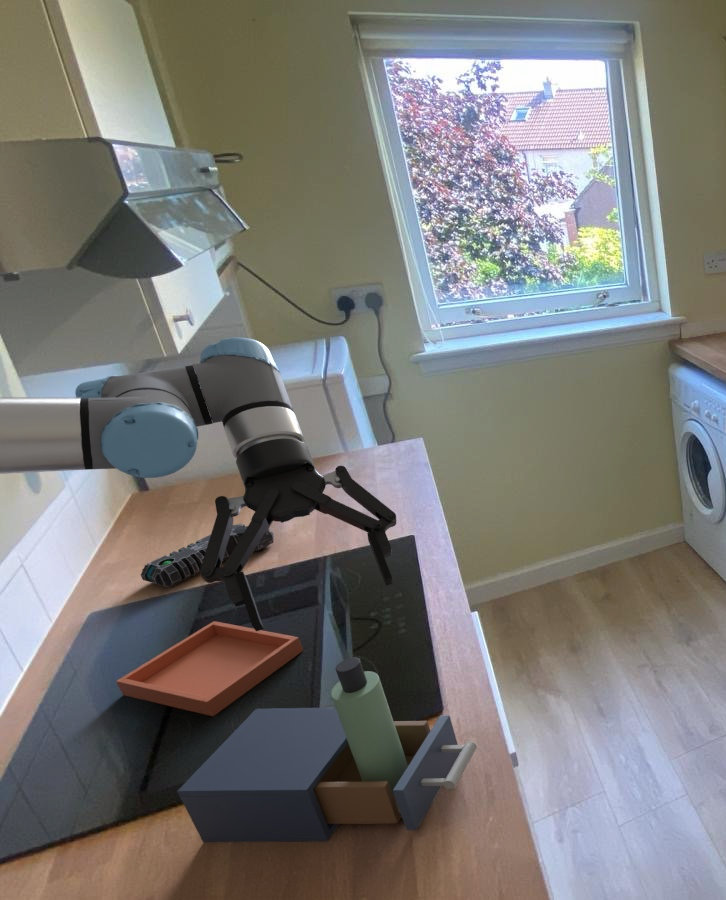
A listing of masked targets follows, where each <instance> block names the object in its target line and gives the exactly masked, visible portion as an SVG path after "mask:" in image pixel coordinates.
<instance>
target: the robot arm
mask: <svg viewBox="0 0 726 900" xmlns="http://www.w3.org/2000/svg"><path fill="white" fill-rule="evenodd" d="M199 360H200V361H199V363H194V364H193V363H192V365H185V366H179V367H173V368H164V369H158V370H151V371H143V372H137V373H130V374H122V375H116V374H113V375H108V376H107V377H105V378H100V379H94V380H89V381H83V382H81V383H80V384H78V385H77V386H76V388H75V391H74V392H75V393H74V394H75V396H68V397H65V396H64V397H63V396H61V397H59V396H58V397H57V396H50V397H49V396H47V397H46V396H41V397H40V396H38V397H37V396H33V397H32V396H30V397H29V396H28V397H27V396H24V397H23V396H20V397H17V396H9V397H8V396H5V397H3V396H0V475H5V474H7V475H8V474H24V473H26V474H27V473H29V474H30V473H45V472H46V473H47V472H48V473H49V472H65V471H66V472H67V471H68V472H69V471H87V470H115V469H116V470H118V471H120V472H122V473H124V474H126V475H129V476H133V477H137V478H143V479H154V478H162V477H166V476H170V475H172V474H175V473H176V472H179V471H180V470H181V469H183V468H185V467H186V466H187V465H188V464H189V463H190V462H191V461H192V460H193V458H194V456H195V454H196V451H197V446H198V440H199V427H203V426H209V425H213V424H216V423H221V424H222V426H223V430H224V433H225V435H226V439H227V441H228V444H229V446H230V447H229V448H230V450H231V452H232V454H233V457H234V458H235V463H236V467H237V470H238V472H239V475H240V478H241V481H242V484H243V487H244V494H243V495H240V496H235V497H229V498H228V497H227V496H225V495H220V496H217V497H216V498H215V499H214V503H215V505H214V506H215V510H216V517H215V521H214V524H213V527H212V530H211V533H210V535H211V536H210V539H209V543H208V546H207V549H206V552H205V556H204V559H203V562H202V565H201V569H200V572H199V575H200V576H201V578H202V579H203V580H204V582H205V583H207V584H212V583H215V582H223V583H224V585H225V588H226V591H227V595H228V598H229V600H230V602H231V603H232V604H233V605H234V606H235V607H241V606H243V605H245V609H246V612H247V615H248V616H249V621H250V623H251V626H252V629H255V630H256V631H259V630H262V631H263V630H264V629H265V627H264V624H263V622H262V619H261V616H260V613H259V610H258V607H257V604H256V601H255V598H254V595H253V593H252V589H251V586H250V584H249V580H248V578H247V576H246V575H245V572H244V571H243V570H244V568H245V567H246V565H247V563H248V562H249V560H250V558H251V556H252V555H253V553H254V552H255V551H254V550H255V548H256V546H257V545H258V543H259V541H260V540H261V538H262V536H263V535H264V533H265V532H266V531H267V530H268V529H270V527H271V526H272V524H273V522H277V523H279V522H280V523H281V524H283V523H286V522H289V521H291V520H293V519H295V518H303V517H307V516H310V515H311V513H312V512H313V511H317V512H320V513H322V514H324V515H329V516H331V517H332V518H335V519H338V520H340V521H341V522H344V523H346V524H349V525H350V526H353V527H355V528H357V529H358V530H359V529H360V530H361V531H363V532H366V533H367V540H368V543H369V547H370V549H371V552H372V554H373V557H374V559H375V562H376V565H377V567H378V569H379V572H380V575H381V578H382V580H383V582H384V586H385V587H387V586H390V585H392V584H393V576H392V574H391V571H390V569H389V566H388V563H387V561H386V558H389V557H392V552H393V550H392V546H391V544H390V540H389V538H388V535H387V533H386V532H387V530H389V529H391V528H393V527H395V526H396V525H397V514H396V512H395V511H393V510H392V509H390V507H388V506H387V505H385V504H384V503H383V502H382V501H380V500H379V499H378V498H377V497H375V496H374V495H373V493H370V492H369V491H368V489H366V488H364V487H363V486H361V484H359V483H358V482H357V481H356V480H354V479H353V478H352V476H351V474H350V472H349V471H348V469H347V467H345V466H344V465H338V466H336V467H335V468H334V469H335V470H334V471H331V472H328V473H325V474H323V475H322V474H320V473H319V472H318V471H317V469H316V467H315V463H314V461H313V459H312V456H311V452H310V450H309V448H308V444H306V443H305V437H304V434H303V432H302V429H301V426H300V424H299V423H300V422H299V421H298V418H297V415H296V414H295V411H294V409H293V405H292V403H291V400H290V397H289V394H288V391H287V389H286V386H285V383H284V380H283V378H282V375H281V371H280V368H279V367H278V366H277V364H276V362H275V360H274V357H273V356H272V353H271V351H270V349H269V348H268V347H267V346H266V345H265V344H263V343H262V342H260V341H259V340H256V339H253V338H247V337H227V338H223V339H222V338H221V339H220V340H219V342H214V343H213V342H212V343H210V344H208V345H207V346H205V347H204V348H203V349H202V351H201V352H200V354H199ZM327 485H330V486H332V487H334V488H335V489H342V490H343V491H344V492H345V494H347V496H349V497H350V498H351V499H353V500H354V501H355V502H356V503H358V504H359V505H360V506H362V507H363V508H364V509H365V510H367V511H368V512H369V513H370V514H371V515H373V516H374V517H372V516H370V515H367V514H366V513H363V512H361V511H359V510H357V509H355V508H353V507H350V506H348V505H346V504H344V503H342V502H339V501H337V500H335V499H334V498H332V497H331V496H330V495H327V494H325V493H324V491H325V489H326V486H327ZM244 507H245V508H246V507H247V508H248V509H250V510H251V511H253V512H254V513H253V515H252V517H251V519H250V522H249V524H248V525H247V526H248V527H247V529H246V530H245V532H244V534H243V535H242V537H241V538H240V540H239V542H238V543H237V545H236V547H235V548H234V550H233V551H232V553H231V555H230V556H229V558H228V559H227V560H225V563H224V565H223V566H222V564H223V562H224V561H223V557H224V554H225V550H226V547H227V544H228V540H229V537H230V533H231V530H232V527H233V525H234V518H235V517H237V516H239V515H240V514H241V510H242V509H243V508H244Z"/></svg>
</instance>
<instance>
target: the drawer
mask: <svg viewBox="0 0 726 900" xmlns="http://www.w3.org/2000/svg"><path fill="white" fill-rule="evenodd" d="M393 721H394V720H393ZM394 724H395V727H396V730H397V733H398V737H399V740H400V743H401V746H402V749H403V752H404V755H405V758H406V761H407V764H408V767H407V769H406V770H405V772H404V774H403V775H402V777H401V778H400V780H399V781H398V783H397V785H396V786H395V788H394V789H393V793H394V795H393V794H392V791H391V788H390V785H389V782H388V781H374V782H362V779H361V776H360V773H359V771H358V768H357V765H356V763H355V760H354V757H353V754H352V752H351V749H350V746H349V743H348V744H347V745H346V746H345V748H344V749H343V750H342V752H341V753H340V754H339V756H338V757H337V758H336V760H335V761H334V762H333V763H332V765H331V766H330V767H329V769H328V770H327V771H326V773H325V774H324V775H323V777H322V778H321V779H320V781H319V782H318V783H317V785H316V786H315V787H314V789H313V791H314V793H315V796H316V798H317V800H318V803H319V805H320V808H321V810H322V813H323V815H324V818H325V820H326V823H327V824H339V825H346V824H347V825H349V824H350V825H352V824H353V825H354V824H355V825H357V824H359V825H361V824H363V825H364V824H365V825H366V824H399V821H400V820H401V818H402V821H403V824H404V827H405V830H406V831H418V828H419V827H420V825H421V823H422V821H423V820H424V818H425V816H426V814H427V812H428V811H429V809H430V808H431V805H432V804H433V802H434V800H435V798H436V796H437V795H438V793H439V791H440V790H441V787H444V788H445V789H446V790H450V791H451V790H454V789H455V788H456V787H457V785H458V783H459V781H460V779H461V777H462V776H463V774H464V772H465V770H466V768H467V766H468V765H469V763H470V761H471V759H472V757H473V755H474V753H475V751H476V750H477V747H478V746H477V744H476V743H475V742H474V741H469V740H468V741H467V742H465V744H459V743H458V741H457V737H456V734H455V730H454V727H453V722H452V720H451V716H450V715H449V714H446V715H445V714H444V715H443V714H442V715H439V717H438V719H436V721H435V723H434V724H433V725H432V727H431V729H430V725H429V721H427V720H397V721H396V720H395V721H394Z"/></svg>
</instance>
